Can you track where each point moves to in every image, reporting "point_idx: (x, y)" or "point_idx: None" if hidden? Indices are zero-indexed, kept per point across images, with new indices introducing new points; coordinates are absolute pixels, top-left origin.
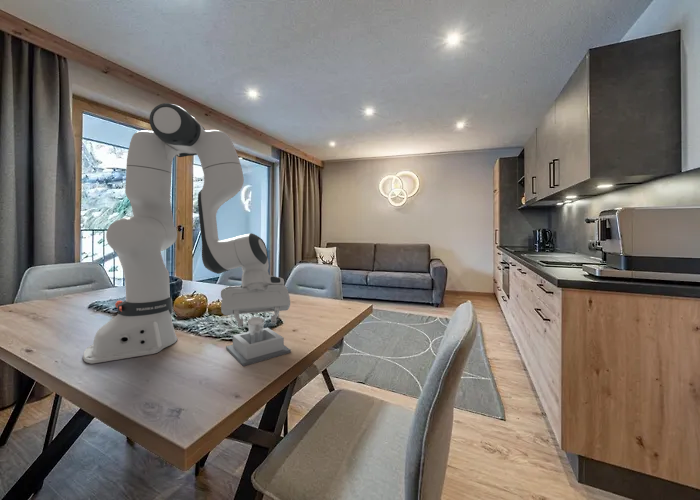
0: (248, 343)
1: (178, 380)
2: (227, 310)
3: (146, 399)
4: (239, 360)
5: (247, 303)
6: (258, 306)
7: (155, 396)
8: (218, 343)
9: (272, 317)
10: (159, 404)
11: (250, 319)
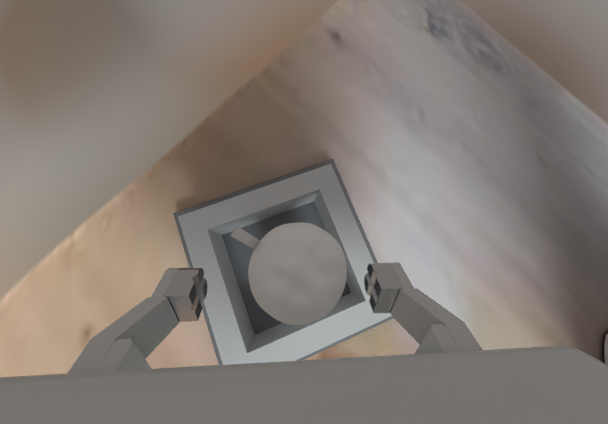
0: (324, 195)
1: (473, 138)
2: (539, 349)
3: (505, 82)
4: (343, 187)
5: (402, 414)
6: (276, 369)
7: (493, 87)
8: None
9: (184, 286)
10: (474, 58)
11: (333, 260)
